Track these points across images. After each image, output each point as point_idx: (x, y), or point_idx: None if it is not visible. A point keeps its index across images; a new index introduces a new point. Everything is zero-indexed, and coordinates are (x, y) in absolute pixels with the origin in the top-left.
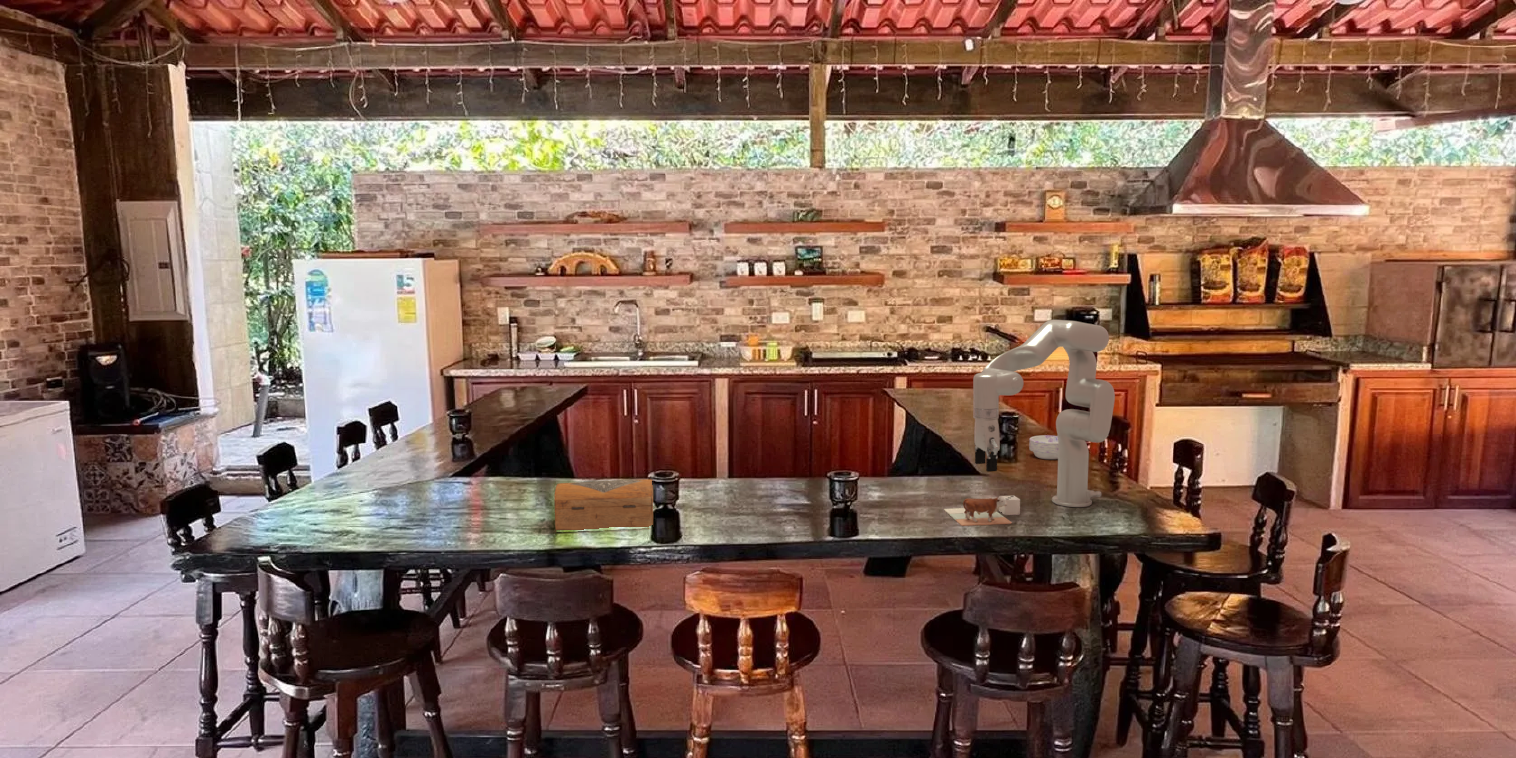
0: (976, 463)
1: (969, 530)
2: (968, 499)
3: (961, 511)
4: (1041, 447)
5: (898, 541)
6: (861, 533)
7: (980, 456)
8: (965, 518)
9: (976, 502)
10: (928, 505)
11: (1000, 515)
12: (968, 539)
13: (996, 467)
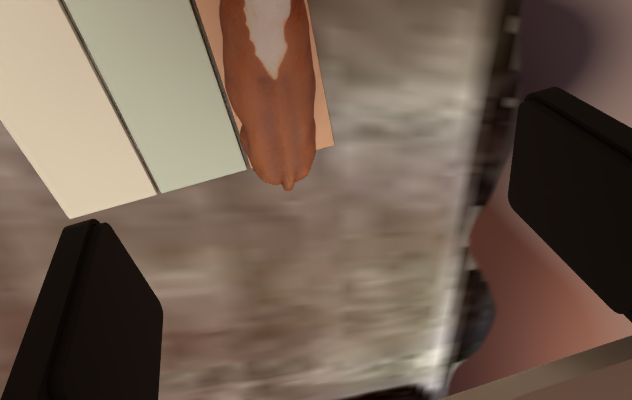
0: (160, 309)
1: (396, 112)
2: (295, 172)
3: (89, 139)
4: None
5: (480, 308)
6: (401, 382)
7: (125, 360)
8: (227, 124)
9: (310, 121)
10: (3, 275)
11: None
12: (508, 123)
13: (582, 110)
